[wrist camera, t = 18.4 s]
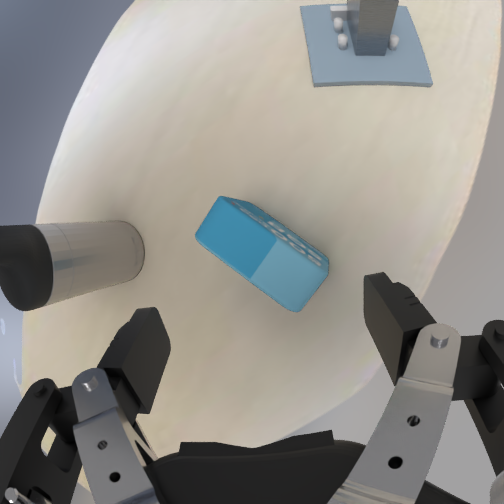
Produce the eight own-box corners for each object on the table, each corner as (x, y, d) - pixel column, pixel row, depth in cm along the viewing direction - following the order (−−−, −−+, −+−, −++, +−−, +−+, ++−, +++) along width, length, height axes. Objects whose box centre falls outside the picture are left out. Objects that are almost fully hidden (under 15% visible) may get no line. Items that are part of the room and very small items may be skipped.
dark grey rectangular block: (355, 55, 31) (360, -1, 19) (346, 22, 30) (346, -35, 19) (384, 56, 30) (398, 1, 18) (374, 22, 29) (382, -34, 18)
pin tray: (314, 87, 34) (312, 74, 30) (300, 10, 33) (297, -4, 29) (430, 87, 30) (438, 75, 26) (405, 10, 29) (409, -4, 25)
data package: (329, 258, 36) (329, 275, 24) (307, 288, 37) (297, 317, 25) (249, 201, 37) (214, 193, 26) (230, 231, 38) (187, 235, 27)
